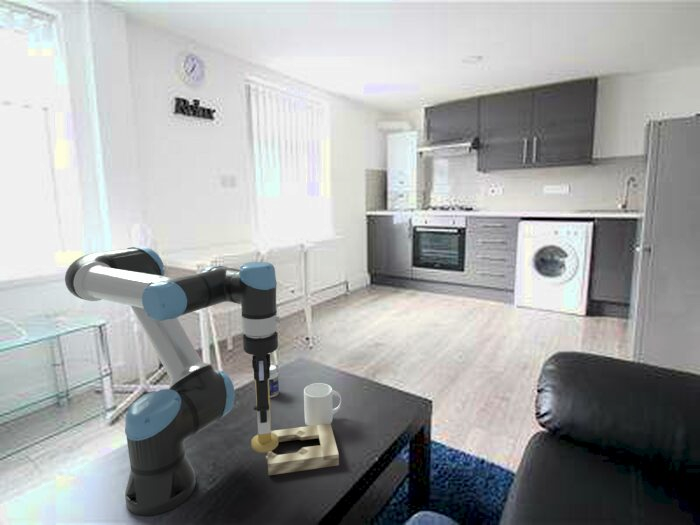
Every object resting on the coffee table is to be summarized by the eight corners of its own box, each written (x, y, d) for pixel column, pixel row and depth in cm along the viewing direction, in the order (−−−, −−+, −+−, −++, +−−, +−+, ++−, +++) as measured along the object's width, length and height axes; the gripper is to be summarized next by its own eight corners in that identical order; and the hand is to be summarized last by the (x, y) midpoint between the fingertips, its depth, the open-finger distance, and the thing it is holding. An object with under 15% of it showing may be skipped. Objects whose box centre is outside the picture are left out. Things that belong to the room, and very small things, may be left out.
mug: (347, 423, 123) (346, 390, 121) (310, 433, 118) (309, 399, 116) (336, 409, 131) (335, 378, 129) (301, 418, 126) (300, 386, 124)
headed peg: (251, 454, 91) (247, 388, 87) (251, 437, 96) (248, 375, 93) (278, 450, 92) (276, 385, 89) (278, 434, 98) (275, 372, 95)
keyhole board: (266, 475, 101) (265, 464, 100) (266, 441, 114) (265, 431, 114) (338, 465, 105) (338, 454, 104) (330, 433, 118) (330, 423, 117)
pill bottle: (277, 398, 138) (276, 371, 136) (260, 398, 138) (259, 371, 136) (280, 389, 143) (279, 363, 142) (264, 389, 144) (263, 363, 142)
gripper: (278, 345, 82) (281, 447, 86) (276, 319, 97) (279, 407, 102) (240, 348, 80) (246, 452, 85) (244, 321, 96) (249, 411, 100)
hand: (264, 427), depth 93 cm, fingers closed on headed peg, 3 cm apart
